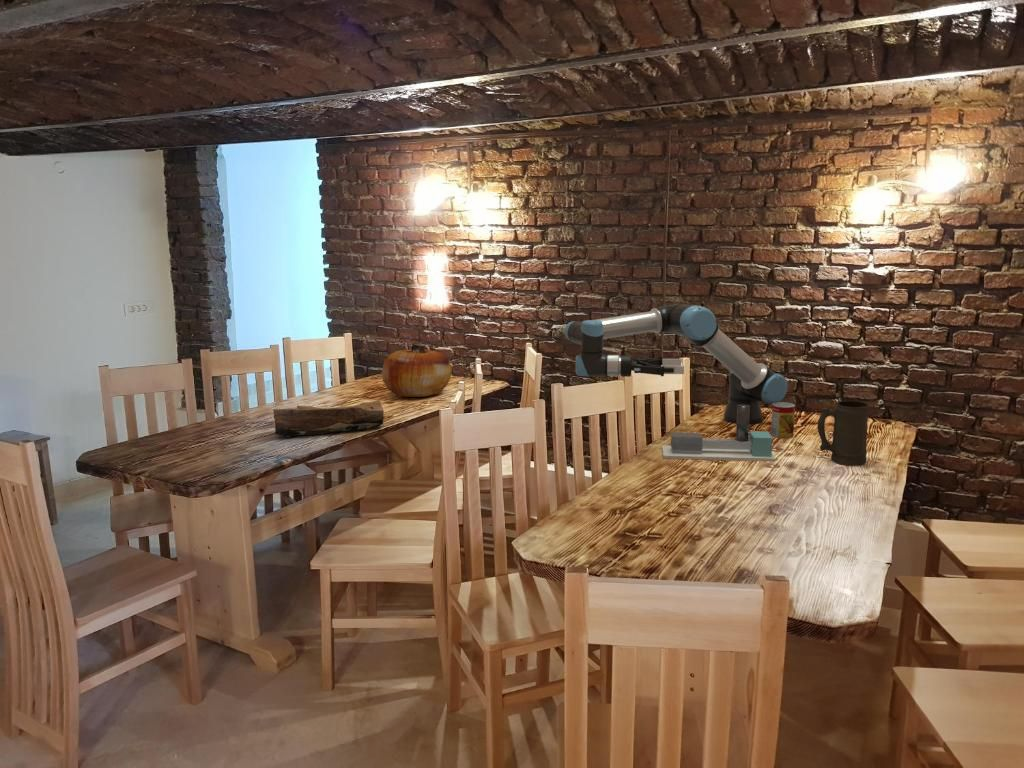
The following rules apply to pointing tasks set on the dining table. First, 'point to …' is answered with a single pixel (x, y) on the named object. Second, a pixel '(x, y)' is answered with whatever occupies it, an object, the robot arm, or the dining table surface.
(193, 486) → the dining table surface
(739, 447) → the grey black upright frame
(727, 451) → the baseboard
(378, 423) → the log
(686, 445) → the sleeve
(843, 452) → the beer stein
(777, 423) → the canned food
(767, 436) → the socket
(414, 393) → the pumpkin
